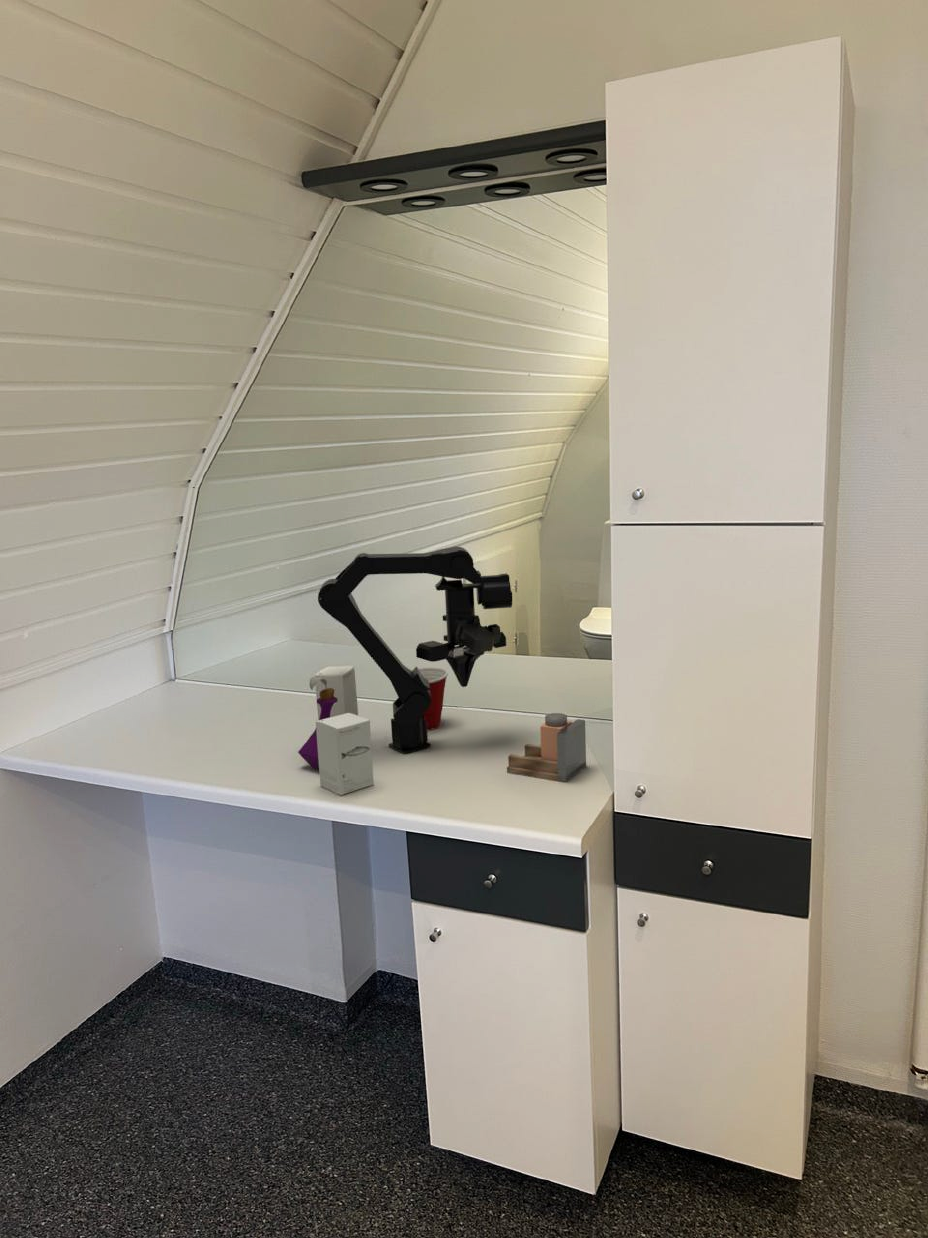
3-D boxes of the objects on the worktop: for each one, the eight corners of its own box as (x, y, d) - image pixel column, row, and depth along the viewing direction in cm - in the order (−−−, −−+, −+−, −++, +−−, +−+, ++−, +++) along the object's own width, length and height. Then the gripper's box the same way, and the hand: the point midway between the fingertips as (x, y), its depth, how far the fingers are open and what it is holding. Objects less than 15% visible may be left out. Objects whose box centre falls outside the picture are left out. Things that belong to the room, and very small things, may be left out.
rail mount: (507, 772, 175) (505, 726, 173) (529, 757, 182) (527, 712, 180) (565, 782, 168) (564, 734, 167) (586, 766, 176) (585, 720, 174)
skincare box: (348, 749, 192) (343, 675, 189) (318, 748, 193) (312, 675, 190) (361, 735, 200) (356, 664, 197) (331, 735, 201) (326, 664, 198)
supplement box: (340, 796, 167) (335, 728, 164) (319, 786, 172) (314, 720, 170) (375, 785, 171) (370, 719, 169) (353, 775, 177) (348, 711, 174)
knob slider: (541, 767, 173) (540, 718, 171) (553, 759, 177) (552, 711, 175) (561, 771, 171) (560, 721, 169) (572, 762, 175) (571, 713, 173)
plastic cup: (391, 727, 205) (387, 674, 202) (429, 715, 212) (426, 664, 209) (422, 737, 197) (419, 682, 194) (461, 725, 204) (458, 672, 201)
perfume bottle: (327, 756, 188) (320, 669, 184) (353, 764, 183) (347, 674, 179) (298, 768, 182) (291, 678, 179) (324, 775, 177) (317, 683, 174)
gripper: (445, 623, 175) (449, 704, 178) (522, 608, 185) (525, 685, 189) (412, 615, 184) (417, 692, 187) (488, 602, 194) (491, 675, 197)
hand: (463, 686), depth 190 cm, fingers closed
